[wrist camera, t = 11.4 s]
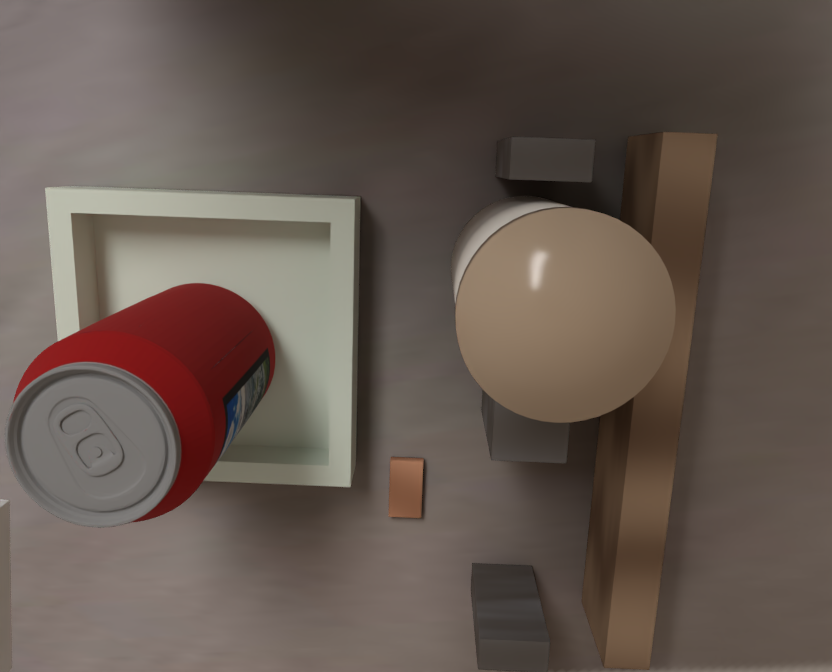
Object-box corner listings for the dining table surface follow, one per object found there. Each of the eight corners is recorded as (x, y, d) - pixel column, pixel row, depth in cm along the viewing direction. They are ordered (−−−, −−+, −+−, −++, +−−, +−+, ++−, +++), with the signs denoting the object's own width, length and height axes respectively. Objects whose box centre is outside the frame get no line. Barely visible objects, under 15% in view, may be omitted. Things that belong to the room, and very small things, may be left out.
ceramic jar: (451, 190, 32) (461, 204, 22) (603, 196, 32) (688, 212, 22) (445, 337, 34) (451, 418, 23) (590, 343, 34) (662, 426, 23)
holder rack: (400, 128, 32) (392, 120, 26) (674, 138, 32) (728, 132, 26) (386, 592, 37) (378, 672, 31) (620, 603, 37) (655, 685, 31)
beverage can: (189, 442, 35) (67, 582, 23) (108, 324, 34) (-64, 409, 22) (307, 376, 34) (241, 488, 22) (228, 252, 33) (116, 301, 21)
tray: (74, 186, 33) (45, 187, 30) (360, 196, 33) (354, 199, 30) (93, 454, 36) (69, 475, 33) (356, 464, 36) (350, 487, 33)
